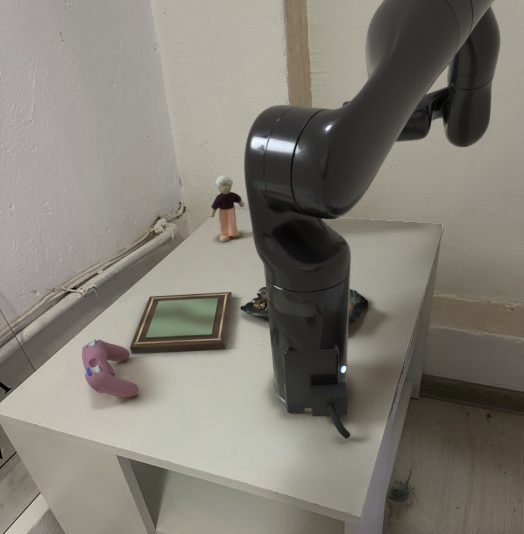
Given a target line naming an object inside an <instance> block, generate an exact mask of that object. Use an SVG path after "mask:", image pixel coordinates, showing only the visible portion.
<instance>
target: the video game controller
mask: <svg viewBox="0 0 524 534" xmlns="http://www.w3.org/2000/svg"><path fill="white" fill-rule="evenodd" d="M129 357H130V351H129V350H128V349H127V348H126V347H124V346H122V345H118V344H113V343H109V342H107V341H105V340H102V339H95V338H94V339H93V340H92V341H89V342H88V343H87V344H85V345H84V346H83V347H82V348H81V359H82V364H83V367H84V370H85V373H84V377H85V378H84V379H85V380H86V382H87V384H88V385H89V387H90V388H92V390H94V391H95V392H96V393H98V394H106V395H109V396H112V397H118V398H132V397H134V396H137V395H138V393H139V391H140V390H139V387H138V385H137V384H136V383H135V382H133V381H130V380H126V379H123V378H121V377H117V376H114V375H113V374H115V369H114V367H113V366H112V365H111V364H110V362H123V361H126V360H128V359H129Z"/></svg>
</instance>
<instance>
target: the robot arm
mask: <svg viewBox="0 0 524 534" xmlns="http://www.w3.org/2000/svg"><path fill="white" fill-rule="evenodd" d="M495 1H496V0H382V1H381V3H380V4H379V6H378V7H377V8H376V10H375V12H374V13H373V15H372V17H371V19H370V21H369V24H368V27H367V31H366V35H365V36H366V37H365V46H364V47H365V51H364V52H365V65H366V72H367V80H366V82H365V83H364V84H363V86H362V87H361V89H360V90H358V92H357V93H356V94H355V96H354V97H353V98H352V99H351V100H347V101H344V102H343V103H342V105H341V106H340V107H338V108H323V107H313V106H302V105H293V104H277V105H272V106H269V107H267V108H265V109H264V110H262V111H261V112H260V113H259V114H258V115H257V116H256V118H255V119H254V120H253V122H252V124H251V125H250V129H249V131H248V133H247V137H246V142H245V147H244V156H243V173H244V174H243V175H244V176H243V177H244V184H245V193H246V200H247V207H248V211H249V217H250V223H251V224H250V225H251V230H252V236H253V237H252V238H253V243H254V247H255V250H256V253H257V255H258V257H259V259H260V260H261V262H262V265H263V269H264V280H265V282H264V283H265V287H266V293H267V306H268V317H269V318H268V327H269V338H270V348H271V360H272V369H273V371H272V372H273V380H274V381H273V388H274V389H273V390H274V394H275V396H276V398H277V400H278V401H279V402H280V403H281V404H282V405H284V406H285V407H286V412H287V414H297V413H299V414H302V413H303V414H305V413H311V416H312V417H330V419H331V421H332V424H333V425H334V427H335V429H336V430H337V432H338V434H339V435H341V437H343V438H344V439H349V438H350V437H351V435H352V434H351V432H350V431H349V430H347V429H346V427H345V426H344V424H343V422H342V421H341V420H340V417H339V416H347V415H348V409H349V407H348V406H349V394H348V393H349V392H348V347H349V323H348V321H349V295H350V289H351V270H352V269H351V265H352V264H351V263H352V252H351V247H350V245H349V243H348V241H347V240H346V239H345V238H344V237H343V235H341V234H340V233H338V232H337V231H336V230H335V229H333V228H332V227H331V226H330V225H328V224H327V222H325V220H337V219H340V218H342V217H344V216H346V215H348V214H349V213H350V212H351V211H352V210H353V209H354V208H355V207H356V206H357V204H359V203H360V201H361V199H362V198H363V197H364V196H365V194H366V193H367V191H368V190H369V188H370V186H371V185H372V183H373V181H374V180H375V178H376V176H377V174H378V173H379V171H380V170H381V168H382V166H383V164H384V162H385V161H386V159H387V157H388V155H389V154H390V152H391V150H392V148H393V146H394V145H395V144H396V143H403V142H414V141H421V140H423V139H425V138H427V136H428V135H429V133H430V130H431V127H432V122H433V121H436V120H439V119H442V125H443V131H444V134H445V138H446V140H447V141H448V142H449V144H451V145H452V146H454V147H456V148H467V147H471V146H473V145H474V144H476V143H478V142H479V141H480V140H481V139H482V138H483V137H484V136H485V134H486V133H487V130H488V129H489V125H490V121H491V113H492V112H491V111H492V89H493V88H492V87H493V80H494V77H495V73H496V69H497V65H498V60H499V56H500V50H501V30H500V26H499V23H498V19H497V17H496V15H495V12H494V9H493V7H492V5H493V4H494V2H495ZM446 69H447V75H446V83H447V84H446V85H447V86H444V87H442V88H440V89H436V90H434V91H431V92H429V90H430V89H431V88H432V87H433V85H434V84H435V83H436V81H437V80H438V79H439V78H440V76H441V75H442V73H444V71H445V70H446Z"/></svg>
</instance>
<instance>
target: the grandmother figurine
mask: <svg viewBox="0 0 524 534" xmlns="http://www.w3.org/2000/svg"><path fill="white" fill-rule="evenodd" d="M233 184H234V182H233V180H232V178H231V177H229V176H228V175H225V174H222V175H220V176H218V177H217V178H216V180H215V186H216V189H218V191H219V194H217V195H216V197H215V198H214V201H213V203H212V204H211V208H210V212H209V217H210V218H215V215H216V213H217V210H218V226H219V227H218V228H219V235H220V236H219V241H220V242H222V243H223V242H228V241H230V238H231V239H236V238H240V236H241V234H240V233H239V231H238V223H237V215H236V206H235V204H238V206H239V207H240V208H244V207H245V203H244V202H243V200H242V197H241V196H240V195H239V194H238V193H236V192H233V191H232V186H233Z"/></svg>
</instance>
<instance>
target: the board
mask: <svg viewBox="0 0 524 534" xmlns="http://www.w3.org/2000/svg"><path fill="white" fill-rule="evenodd" d="M232 303H233V292H232V291H224V292H223V291H222V292H204V293H188V294H185V293H184V294H169V295H168V294H167V295H157V296H155V295H151V296H149V298H148V300H147V303H146V305H145V307H144V310H143V313H142V315H141V317H140V321H139V323H138V326H137V328H136V330H135V332H134V336H133V338H132V341H131V343H130V346H129V349H130V352H131V354H133V355H134V354H152V353H170V352H171V353H172V352H173V353H174V352H192V351H211V350H212V351H213V350H225V349H226V345H227V338H228V337H227V336H228V332H229V325H230V316H231V309H232Z"/></svg>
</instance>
